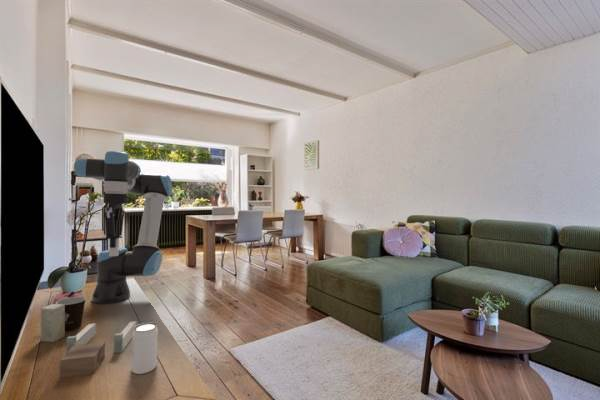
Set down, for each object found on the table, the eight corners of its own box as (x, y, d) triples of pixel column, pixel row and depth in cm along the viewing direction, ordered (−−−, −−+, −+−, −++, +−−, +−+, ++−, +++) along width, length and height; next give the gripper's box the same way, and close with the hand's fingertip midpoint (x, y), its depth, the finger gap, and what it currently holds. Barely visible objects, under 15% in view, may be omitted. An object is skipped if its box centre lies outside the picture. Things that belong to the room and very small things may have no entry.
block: (73, 362, 86) (73, 345, 86) (104, 358, 88) (104, 342, 88) (59, 378, 78) (60, 360, 78) (94, 374, 81) (95, 356, 81)
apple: (85, 310, 123) (86, 286, 123) (79, 318, 115) (80, 293, 115) (57, 313, 119) (58, 289, 119) (49, 321, 111) (50, 295, 111)
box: (65, 336, 100) (66, 304, 100) (53, 342, 96) (54, 309, 96) (51, 335, 101) (52, 303, 101) (38, 341, 97) (40, 308, 97)
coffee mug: (90, 325, 110) (91, 298, 109) (65, 335, 101) (66, 306, 101) (69, 320, 113) (69, 294, 113) (43, 329, 105) (44, 301, 105)
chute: (88, 335, 102) (89, 319, 102) (135, 332, 105) (136, 316, 105) (66, 356, 88) (66, 338, 88) (121, 352, 91) (121, 334, 91)
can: (129, 377, 79) (131, 333, 79) (132, 364, 85) (134, 323, 85) (156, 372, 82) (157, 329, 82) (157, 360, 88) (158, 320, 88)
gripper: (111, 192, 115) (109, 252, 115) (96, 192, 102) (94, 259, 102) (132, 193, 117) (130, 252, 117) (120, 193, 104) (118, 259, 104)
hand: (113, 255), depth 110 cm, fingers closed
